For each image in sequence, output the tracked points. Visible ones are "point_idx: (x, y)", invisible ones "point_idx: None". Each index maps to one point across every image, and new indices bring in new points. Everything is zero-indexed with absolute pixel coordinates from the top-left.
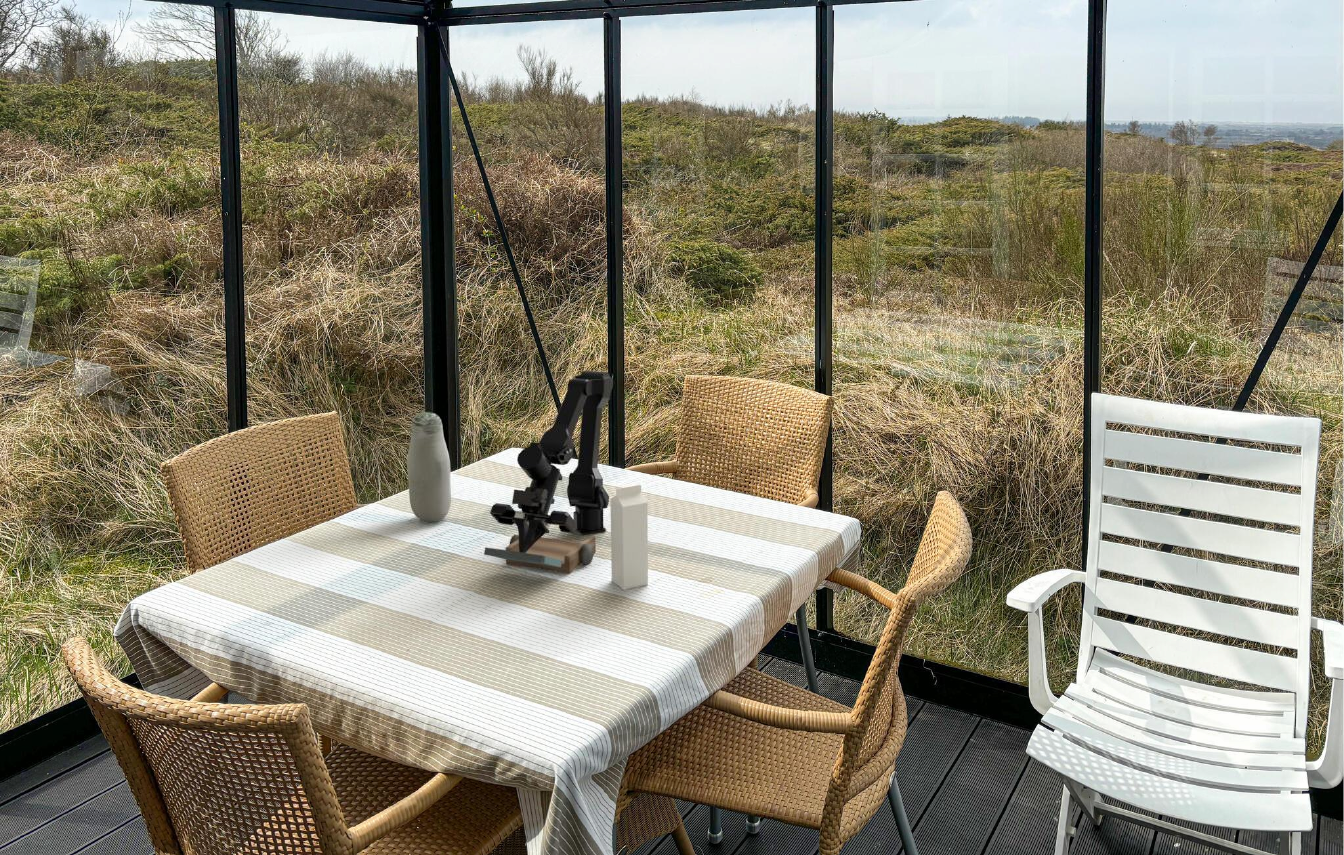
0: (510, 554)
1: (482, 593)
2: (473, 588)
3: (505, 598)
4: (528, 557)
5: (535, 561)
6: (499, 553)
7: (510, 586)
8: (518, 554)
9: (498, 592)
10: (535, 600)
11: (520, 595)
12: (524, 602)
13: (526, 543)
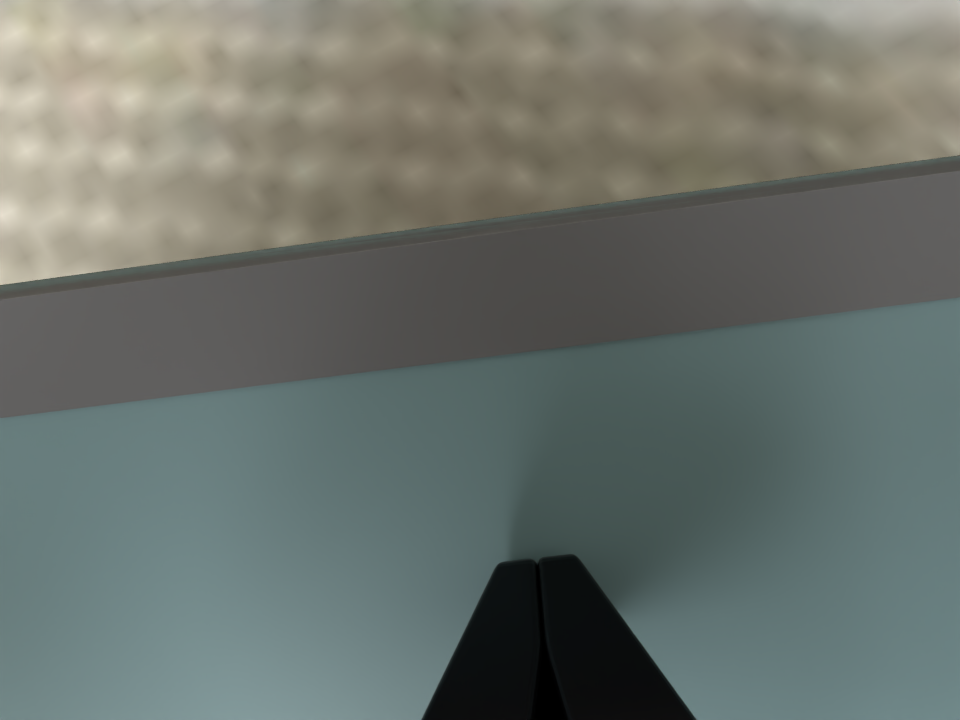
0: (559, 215)
1: (720, 39)
2: (909, 97)
3: (415, 53)
4: (156, 270)
5: (27, 284)
6: (815, 180)
7: None
8: (377, 243)
9: (580, 140)
10: (104, 158)
11: (315, 188)
12: (182, 66)
13: (438, 701)
